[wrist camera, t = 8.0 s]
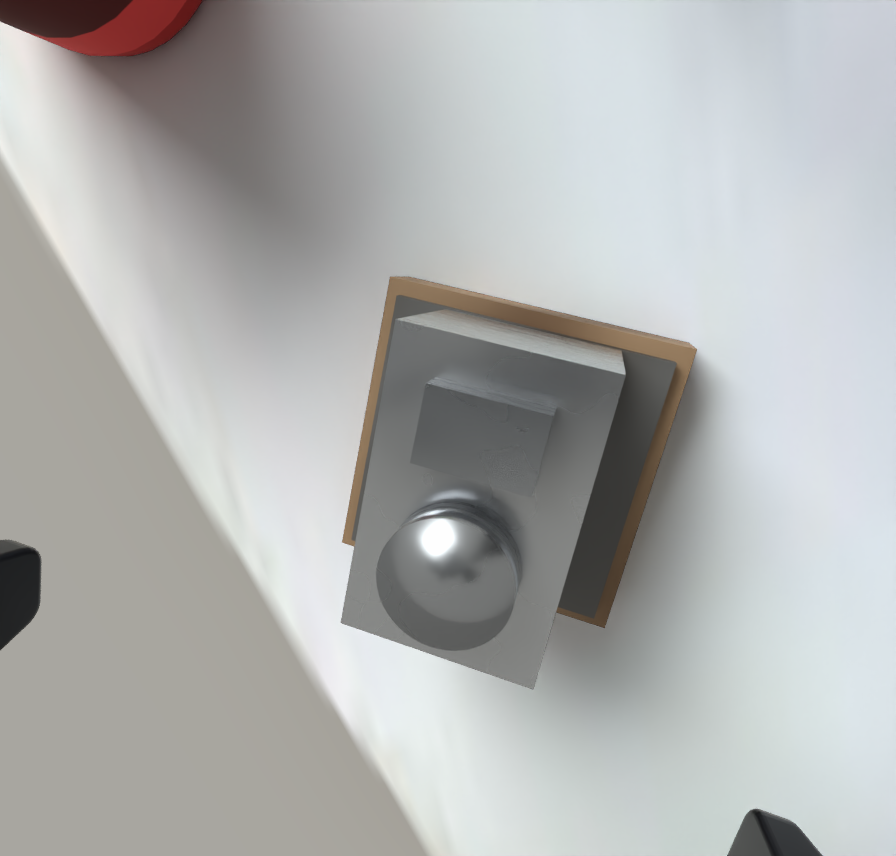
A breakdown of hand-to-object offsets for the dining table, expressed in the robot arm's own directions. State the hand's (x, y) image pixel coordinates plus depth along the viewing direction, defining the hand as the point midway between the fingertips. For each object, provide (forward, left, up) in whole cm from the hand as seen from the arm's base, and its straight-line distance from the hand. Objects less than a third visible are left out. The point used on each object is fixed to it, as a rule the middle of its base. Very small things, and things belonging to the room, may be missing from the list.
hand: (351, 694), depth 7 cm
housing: (0, 0, -10) cm, 10 cm away
